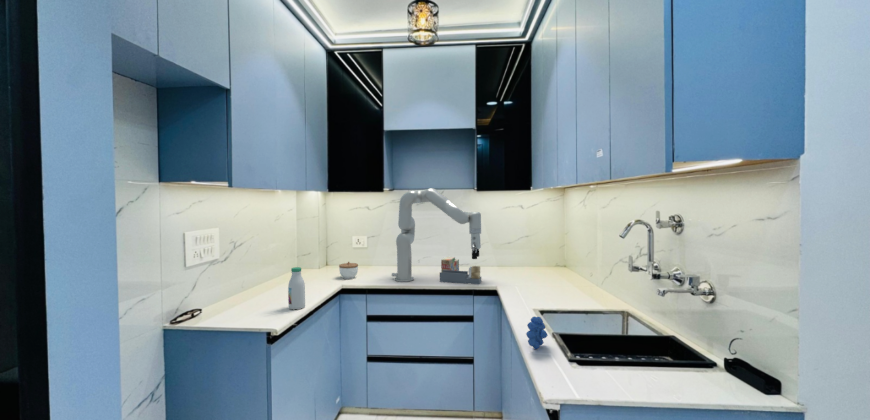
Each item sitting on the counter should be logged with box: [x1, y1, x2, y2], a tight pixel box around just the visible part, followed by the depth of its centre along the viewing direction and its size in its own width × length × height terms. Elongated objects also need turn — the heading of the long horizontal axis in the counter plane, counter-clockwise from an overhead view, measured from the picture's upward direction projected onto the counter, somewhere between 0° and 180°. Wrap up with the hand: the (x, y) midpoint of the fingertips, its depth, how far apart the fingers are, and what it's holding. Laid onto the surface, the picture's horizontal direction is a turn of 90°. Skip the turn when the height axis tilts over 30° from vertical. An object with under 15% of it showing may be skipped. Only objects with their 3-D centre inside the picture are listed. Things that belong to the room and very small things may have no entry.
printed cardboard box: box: [440, 256, 460, 272], centre depth 252 cm, size 21×6×12 cm, turn 159°
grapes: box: [525, 316, 548, 350], centre depth 126 cm, size 12×7×12 cm, turn 137°
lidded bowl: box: [338, 261, 359, 280], centre depth 241 cm, size 13×13×11 cm
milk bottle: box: [287, 266, 306, 310], centre depth 175 cm, size 8×8×20 cm
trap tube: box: [439, 270, 482, 285], centre depth 230 cm, size 26×9×6 cm, turn 75°
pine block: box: [470, 265, 481, 279], centre depth 227 cm, size 5×5×7 cm
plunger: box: [466, 266, 472, 278], centre depth 229 cm, size 10×6×6 cm, turn 75°
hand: (475, 257), depth 227 cm, fingers open, 9 cm apart
